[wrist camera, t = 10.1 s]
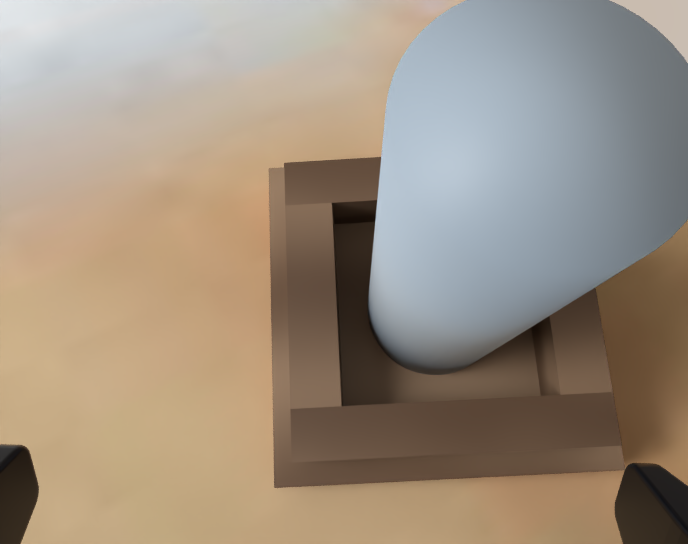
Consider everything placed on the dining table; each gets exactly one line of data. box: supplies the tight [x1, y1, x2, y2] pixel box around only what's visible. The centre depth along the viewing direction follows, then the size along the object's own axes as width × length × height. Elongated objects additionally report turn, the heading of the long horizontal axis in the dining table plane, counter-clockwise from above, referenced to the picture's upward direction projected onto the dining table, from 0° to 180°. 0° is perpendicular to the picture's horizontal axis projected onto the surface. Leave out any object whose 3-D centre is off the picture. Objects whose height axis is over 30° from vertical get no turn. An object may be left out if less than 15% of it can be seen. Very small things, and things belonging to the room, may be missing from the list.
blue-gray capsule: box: [368, 0, 688, 375], centre depth 14 cm, size 4×4×12 cm
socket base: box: [269, 157, 625, 488], centre depth 20 cm, size 11×11×4 cm
